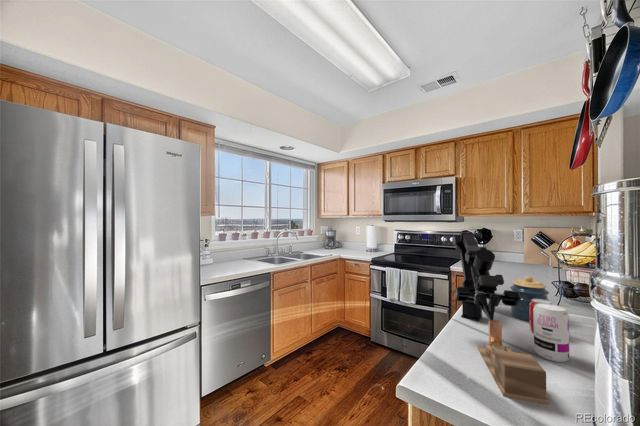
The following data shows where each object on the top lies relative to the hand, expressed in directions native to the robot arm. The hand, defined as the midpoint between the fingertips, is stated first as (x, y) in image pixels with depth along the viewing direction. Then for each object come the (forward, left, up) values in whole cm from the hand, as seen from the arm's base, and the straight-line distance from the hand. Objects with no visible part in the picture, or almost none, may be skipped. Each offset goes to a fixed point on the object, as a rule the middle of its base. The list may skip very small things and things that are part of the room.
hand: (491, 319), depth 84 cm
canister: (+6, +43, -10) cm, 44 cm away
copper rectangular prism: (+4, -8, -8) cm, 12 cm away
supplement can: (+14, +8, -10) cm, 19 cm away
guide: (+6, -12, -9) cm, 16 cm away
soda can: (+11, +26, -10) cm, 30 cm away
